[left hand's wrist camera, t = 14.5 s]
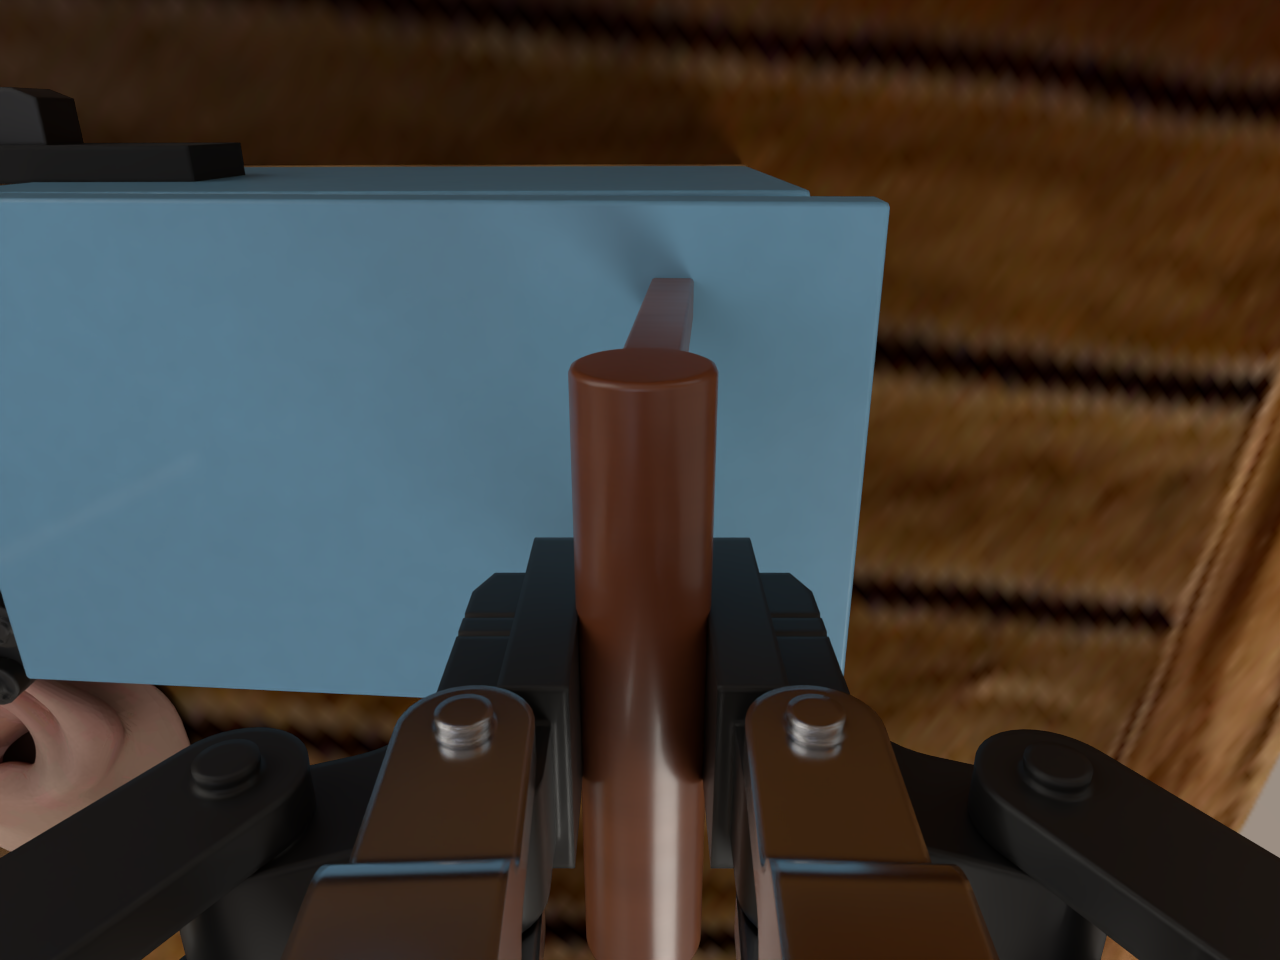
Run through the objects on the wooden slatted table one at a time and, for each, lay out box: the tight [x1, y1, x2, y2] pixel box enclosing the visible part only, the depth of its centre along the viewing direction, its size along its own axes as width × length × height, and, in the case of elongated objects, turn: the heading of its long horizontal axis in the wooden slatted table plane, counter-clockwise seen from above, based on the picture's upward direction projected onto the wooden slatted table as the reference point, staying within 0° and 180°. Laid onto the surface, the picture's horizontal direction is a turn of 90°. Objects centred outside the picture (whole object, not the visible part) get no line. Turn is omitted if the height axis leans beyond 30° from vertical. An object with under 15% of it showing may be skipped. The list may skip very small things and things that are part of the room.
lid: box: [0, 193, 890, 960], centre depth 14 cm, size 17×10×8 cm, turn 90°
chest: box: [0, 164, 810, 196], centre depth 23 cm, size 16×10×11 cm, turn 90°
